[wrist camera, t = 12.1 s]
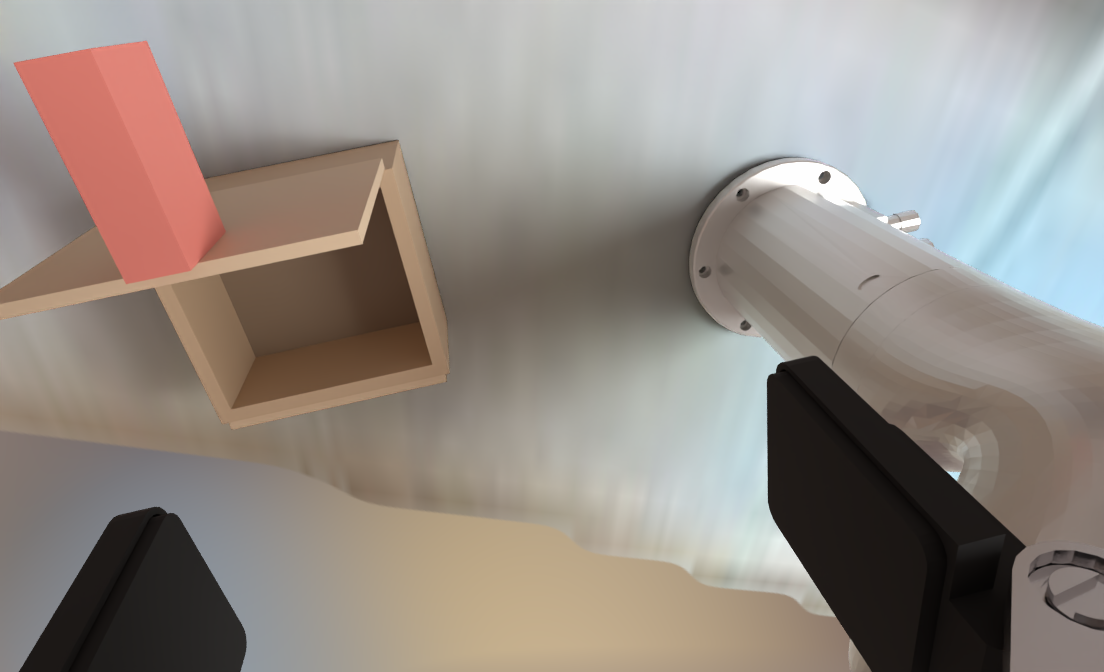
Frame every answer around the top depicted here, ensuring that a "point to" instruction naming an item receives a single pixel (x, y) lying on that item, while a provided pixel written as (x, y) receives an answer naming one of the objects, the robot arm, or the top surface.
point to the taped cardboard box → (165, 190)
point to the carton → (318, 311)
